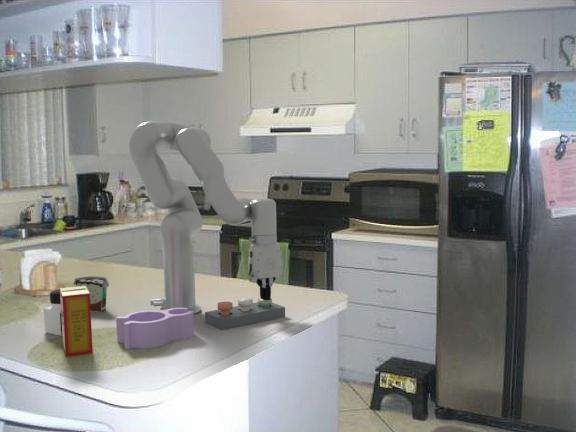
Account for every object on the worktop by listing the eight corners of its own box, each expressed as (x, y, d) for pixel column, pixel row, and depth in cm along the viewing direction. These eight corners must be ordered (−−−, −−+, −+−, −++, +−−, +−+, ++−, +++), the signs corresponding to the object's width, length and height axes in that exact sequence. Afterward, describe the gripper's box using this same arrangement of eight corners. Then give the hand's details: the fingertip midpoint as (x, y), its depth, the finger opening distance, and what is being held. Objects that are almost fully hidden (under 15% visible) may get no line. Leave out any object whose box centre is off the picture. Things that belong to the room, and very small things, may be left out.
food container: (118, 308, 212) (116, 277, 211) (105, 313, 207) (104, 281, 205) (88, 304, 217) (86, 274, 216) (75, 309, 212) (73, 278, 211)
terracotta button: (222, 321, 191) (222, 306, 190) (215, 318, 194) (214, 303, 194) (235, 318, 193) (235, 303, 193) (228, 315, 197) (227, 300, 196)
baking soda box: (92, 353, 169) (89, 291, 167) (65, 356, 166) (62, 294, 164) (88, 342, 177) (85, 284, 175) (62, 345, 175) (59, 286, 173)
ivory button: (243, 317, 195) (242, 302, 194) (235, 314, 198) (235, 299, 198) (255, 314, 197) (255, 300, 197) (247, 311, 201) (247, 297, 200)
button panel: (222, 329, 188) (222, 319, 187) (205, 322, 196) (204, 312, 195) (285, 316, 200) (285, 307, 200) (266, 309, 208) (266, 300, 208)
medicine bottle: (61, 336, 183) (59, 294, 181) (44, 332, 187) (42, 291, 185) (81, 330, 189) (79, 289, 187) (65, 326, 193) (62, 286, 191)
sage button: (263, 316, 199) (262, 301, 198) (255, 313, 203) (254, 298, 202) (275, 313, 202) (274, 299, 201) (266, 310, 205) (266, 296, 205)
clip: (182, 328, 190) (181, 304, 190) (200, 339, 180) (199, 314, 179) (114, 340, 180) (112, 315, 179) (128, 352, 169) (127, 326, 169)
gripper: (250, 244, 192) (251, 305, 194) (291, 238, 201) (292, 297, 203) (236, 241, 198) (238, 300, 200) (277, 235, 207) (278, 293, 209)
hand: (265, 299), depth 201 cm, fingers closed
